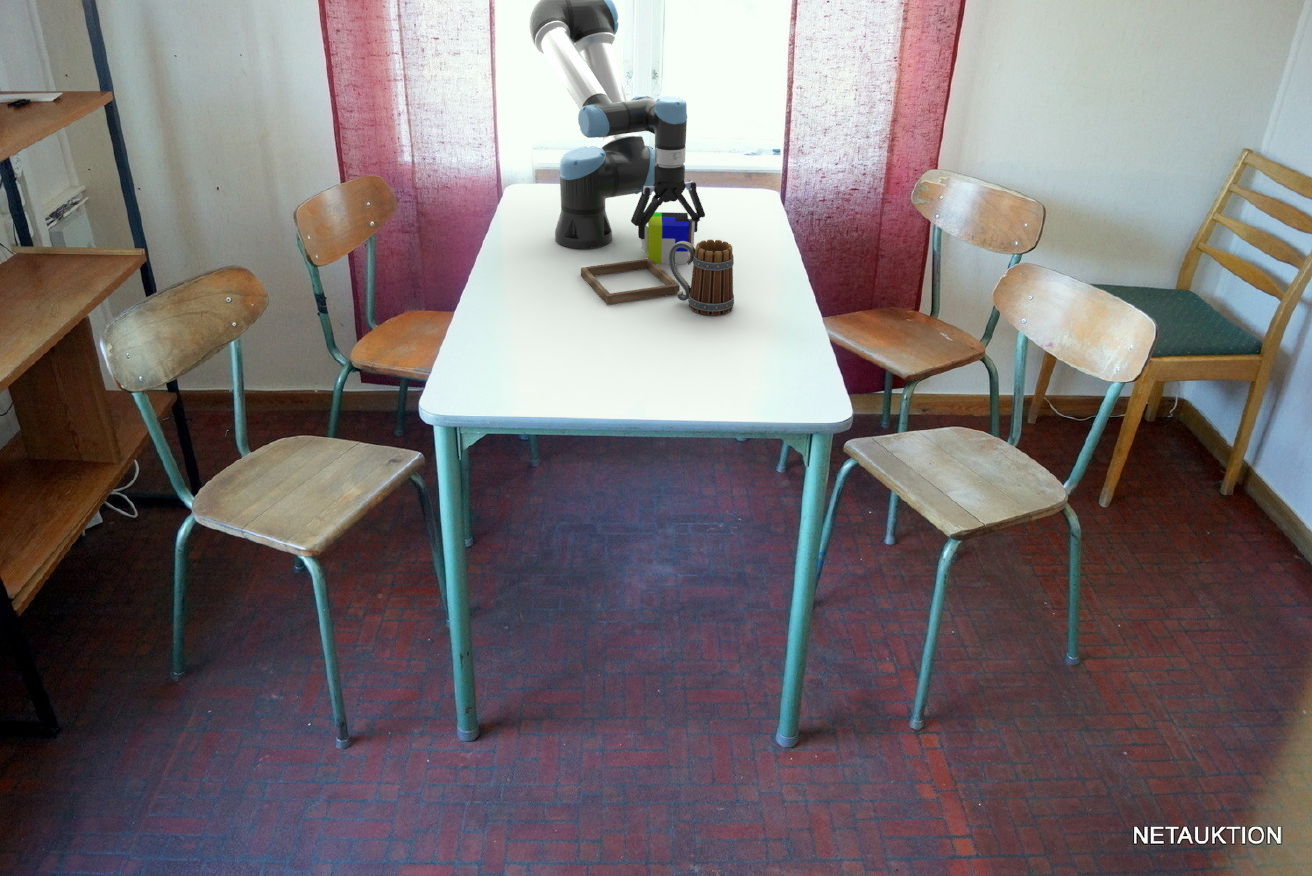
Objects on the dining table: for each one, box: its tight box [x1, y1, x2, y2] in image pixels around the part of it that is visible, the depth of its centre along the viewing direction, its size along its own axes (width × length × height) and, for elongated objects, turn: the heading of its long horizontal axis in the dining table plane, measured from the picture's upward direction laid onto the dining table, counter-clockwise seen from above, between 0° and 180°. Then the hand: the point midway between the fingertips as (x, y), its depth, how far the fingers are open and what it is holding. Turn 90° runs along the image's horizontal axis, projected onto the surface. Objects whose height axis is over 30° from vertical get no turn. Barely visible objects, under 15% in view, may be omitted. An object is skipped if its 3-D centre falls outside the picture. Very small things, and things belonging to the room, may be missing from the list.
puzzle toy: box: [647, 211, 689, 265], centre depth 261 cm, size 10×10×10 cm
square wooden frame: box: [580, 257, 681, 306], centre depth 246 cm, size 18×18×2 cm
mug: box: [668, 239, 735, 317], centre depth 233 cm, size 16×11×15 cm
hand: (667, 247), depth 262 cm, fingers closed on puzzle toy, 12 cm apart
